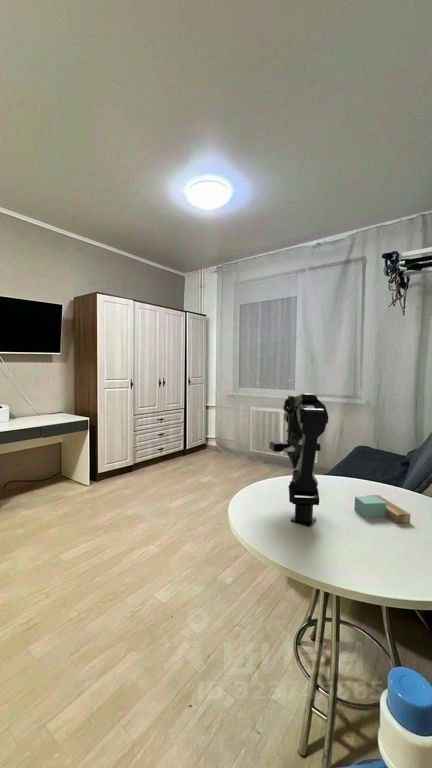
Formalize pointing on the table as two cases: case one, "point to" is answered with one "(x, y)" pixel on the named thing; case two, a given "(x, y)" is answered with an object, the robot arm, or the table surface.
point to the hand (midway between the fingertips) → (294, 468)
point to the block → (370, 506)
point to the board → (395, 512)
